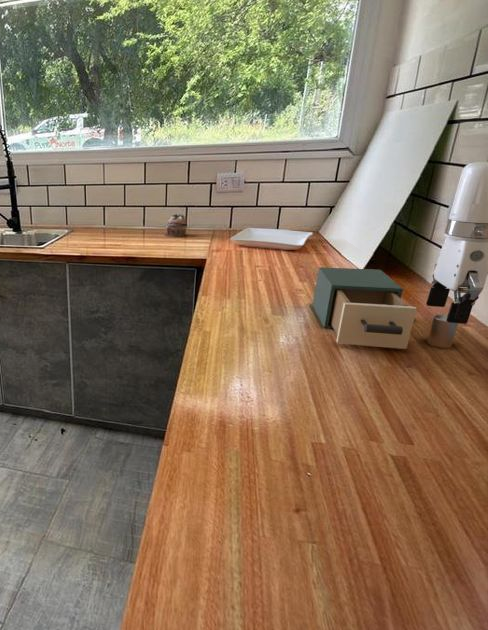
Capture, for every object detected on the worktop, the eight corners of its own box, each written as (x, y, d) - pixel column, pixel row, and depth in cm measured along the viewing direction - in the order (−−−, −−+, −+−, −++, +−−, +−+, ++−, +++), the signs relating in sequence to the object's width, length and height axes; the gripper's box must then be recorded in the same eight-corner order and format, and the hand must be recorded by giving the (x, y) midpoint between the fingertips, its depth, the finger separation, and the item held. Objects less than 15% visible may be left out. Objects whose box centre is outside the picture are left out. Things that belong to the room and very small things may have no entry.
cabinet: (392, 333, 100) (403, 288, 96) (323, 328, 104) (331, 285, 100) (371, 310, 114) (380, 269, 110) (312, 306, 118) (318, 267, 114)
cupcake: (186, 233, 213) (187, 212, 209) (186, 238, 204) (187, 215, 201) (165, 233, 215) (166, 212, 211) (165, 237, 206) (166, 215, 203)
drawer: (415, 359, 87) (426, 317, 83) (342, 353, 90) (350, 312, 87) (383, 322, 104) (392, 286, 100) (323, 318, 107) (330, 283, 104)
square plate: (228, 247, 184) (229, 237, 183) (246, 235, 205) (247, 226, 203) (301, 253, 169) (302, 243, 168) (312, 240, 190) (314, 231, 189)
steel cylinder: (446, 341, 95) (453, 315, 93) (454, 349, 92) (462, 322, 90) (423, 340, 96) (430, 314, 94) (431, 347, 93) (438, 321, 91)
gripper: (522, 240, 77) (489, 332, 83) (472, 223, 92) (448, 302, 98) (469, 238, 79) (441, 327, 85) (429, 222, 94) (408, 299, 100)
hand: (445, 313), depth 92 cm, fingers open, 9 cm apart
